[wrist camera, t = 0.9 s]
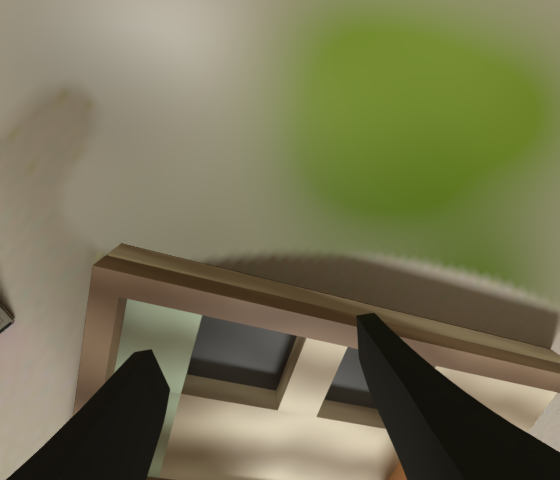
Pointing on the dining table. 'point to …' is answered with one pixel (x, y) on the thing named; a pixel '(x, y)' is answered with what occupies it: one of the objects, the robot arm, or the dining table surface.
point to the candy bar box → (5, 318)
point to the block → (398, 473)
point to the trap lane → (278, 369)
